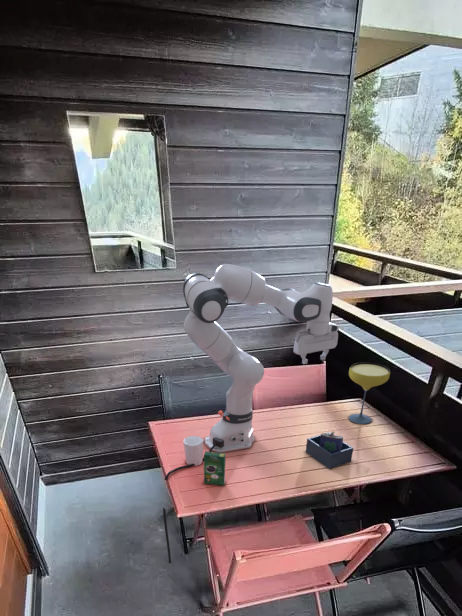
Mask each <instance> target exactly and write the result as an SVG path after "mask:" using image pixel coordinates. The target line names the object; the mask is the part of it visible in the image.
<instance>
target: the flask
mask: <svg viewBox="0 0 462 616" xmlns="http://www.w3.org/2000/svg"><path fill="white" fill-rule="evenodd" d="M320 435H321V438H320V446H321V447H323V448H324V449H325V450H327V451H328V452H330V453H331V454H333V453H336V452H339V451H341V449H342V442H344V437H343V436H342V435H336V434H335V431H331V432H330V434H328V432H322V433H321V434H320Z"/></svg>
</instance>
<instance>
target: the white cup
mask: <svg viewBox="0 0 462 616" xmlns="http://www.w3.org/2000/svg"><path fill="white" fill-rule="evenodd" d="M182 442H183V450H184V457H185V463H186V465H190V464H195V465H194V466H193V467H197V466H200V465H202V463H204V461H203V458H204V438H203V437H200V436H198V435H189V436H186V437H184V439H183V441H182Z"/></svg>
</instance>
